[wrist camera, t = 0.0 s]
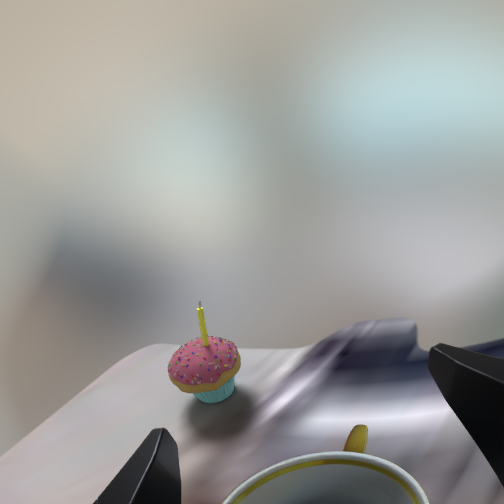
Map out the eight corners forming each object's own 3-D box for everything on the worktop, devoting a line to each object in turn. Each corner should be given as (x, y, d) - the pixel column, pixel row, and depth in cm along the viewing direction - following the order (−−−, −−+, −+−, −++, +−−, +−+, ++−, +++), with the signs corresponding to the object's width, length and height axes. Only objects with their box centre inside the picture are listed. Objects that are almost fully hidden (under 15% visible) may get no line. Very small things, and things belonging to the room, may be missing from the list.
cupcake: (234, 361, 37) (208, 282, 34) (261, 396, 29) (233, 306, 26) (176, 384, 34) (140, 307, 31) (192, 426, 26) (145, 340, 23)
